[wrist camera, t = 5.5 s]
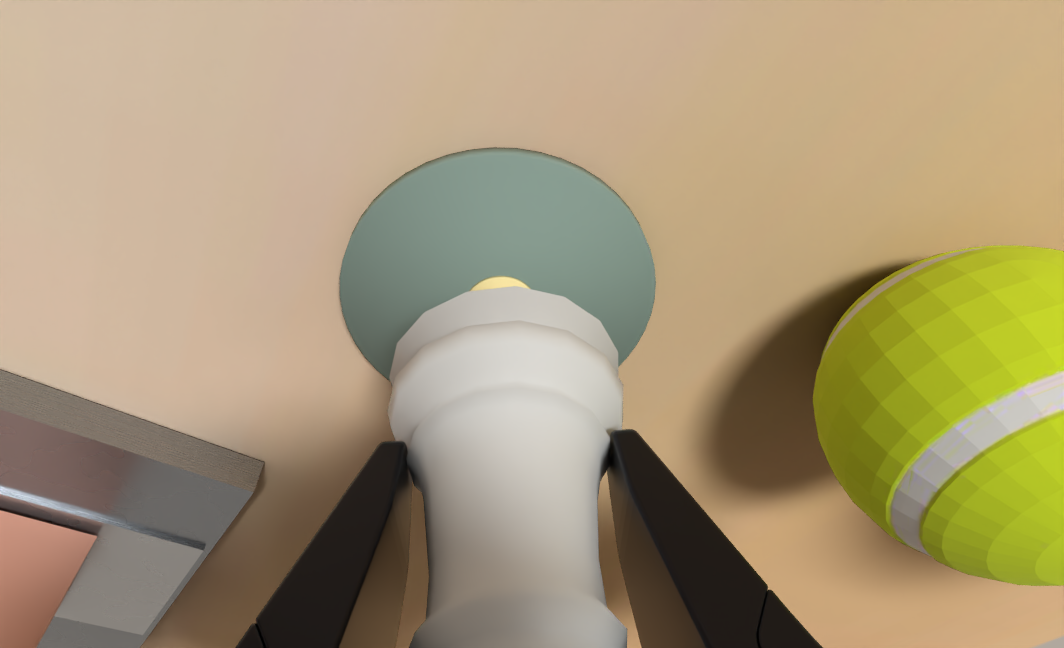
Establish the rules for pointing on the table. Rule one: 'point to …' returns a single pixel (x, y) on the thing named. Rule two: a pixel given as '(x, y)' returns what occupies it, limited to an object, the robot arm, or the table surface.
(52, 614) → the block
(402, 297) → the round pad
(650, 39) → the table surface
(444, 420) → the rook chess piece
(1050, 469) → the tennis ball
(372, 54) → the table surface
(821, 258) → the table surface
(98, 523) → the rail
